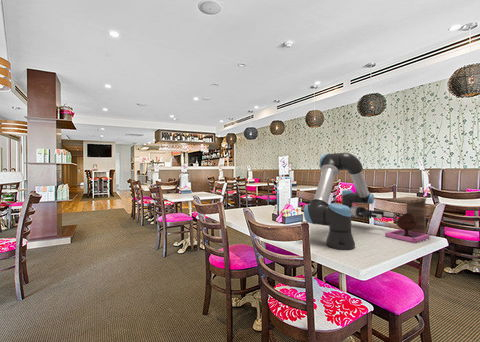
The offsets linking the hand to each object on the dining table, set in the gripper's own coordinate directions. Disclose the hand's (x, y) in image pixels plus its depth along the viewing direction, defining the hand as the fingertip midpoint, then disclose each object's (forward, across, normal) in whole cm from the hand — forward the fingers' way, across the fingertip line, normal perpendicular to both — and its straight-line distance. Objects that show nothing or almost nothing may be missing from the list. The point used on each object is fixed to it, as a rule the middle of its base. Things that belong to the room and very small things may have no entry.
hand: (387, 215), depth 160 cm
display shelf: (+12, -3, -12) cm, 17 cm away
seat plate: (+11, -1, -12) cm, 16 cm away
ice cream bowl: (+11, 0, -12) cm, 16 cm away
